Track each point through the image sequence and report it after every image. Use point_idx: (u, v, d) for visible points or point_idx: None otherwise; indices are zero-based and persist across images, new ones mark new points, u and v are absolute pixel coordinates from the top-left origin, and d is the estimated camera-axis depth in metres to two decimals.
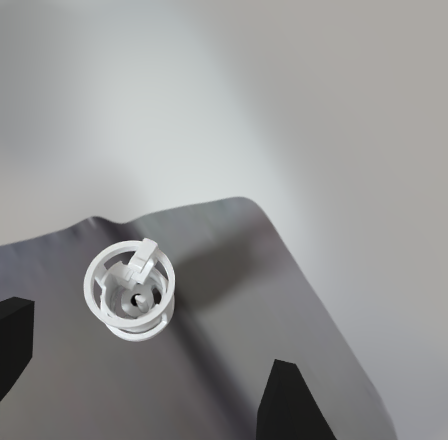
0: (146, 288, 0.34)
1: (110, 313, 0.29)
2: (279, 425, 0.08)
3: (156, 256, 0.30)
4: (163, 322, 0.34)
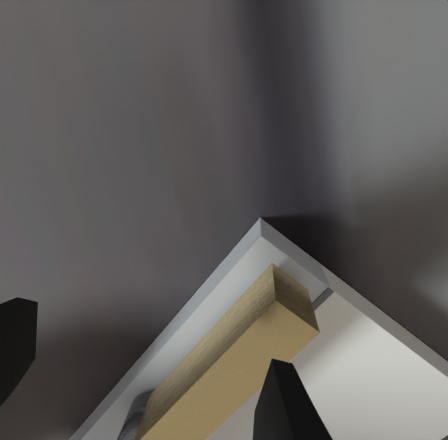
0: None
1: None
2: (275, 424, 0.08)
3: None
4: None
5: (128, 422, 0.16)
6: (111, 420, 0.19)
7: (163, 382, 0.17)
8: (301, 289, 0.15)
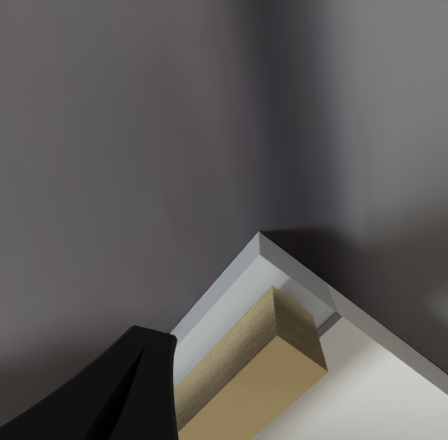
0: None
1: None
2: None
3: None
4: None
5: None
6: None
7: None
8: (305, 315, 0.13)
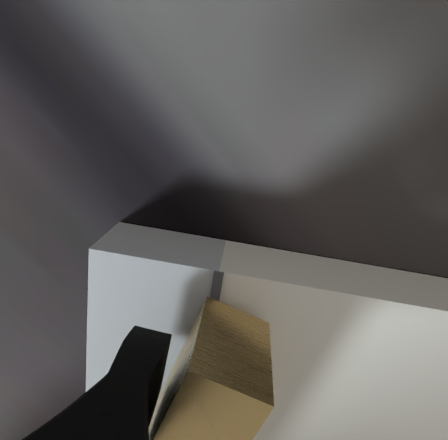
0: None
1: None
2: None
3: None
4: None
5: None
6: None
7: None
8: (255, 326, 0.10)
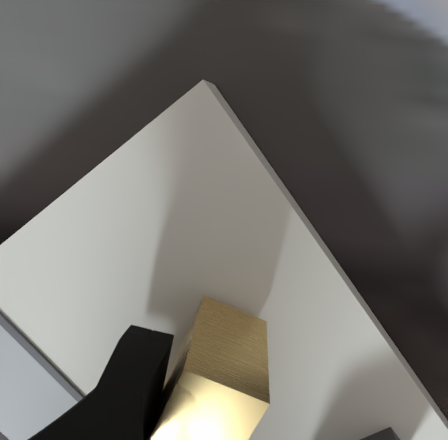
0: None
1: None
2: None
3: None
4: None
5: None
6: None
7: None
8: (252, 325, 0.10)
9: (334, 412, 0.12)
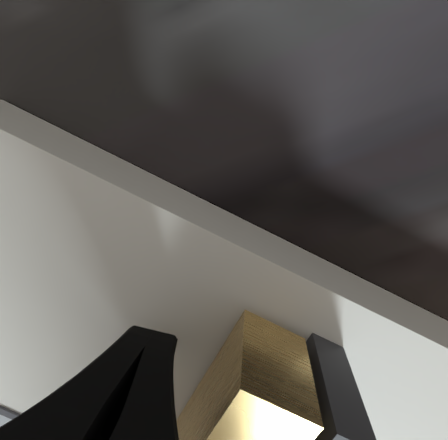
0: None
1: None
2: None
3: None
4: None
5: None
6: None
7: None
8: (293, 342, 0.10)
9: None
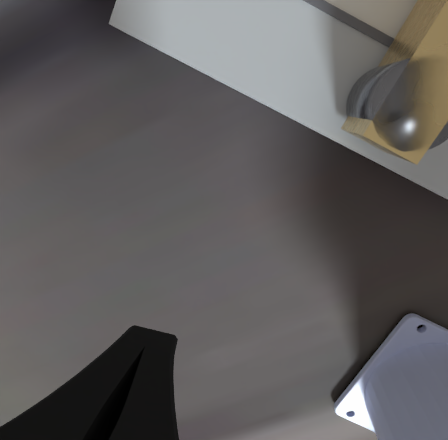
0: None
1: None
2: None
3: None
4: None
5: (372, 75, 0.12)
6: (414, 166, 0.15)
7: (401, 30, 0.12)
8: None
9: None
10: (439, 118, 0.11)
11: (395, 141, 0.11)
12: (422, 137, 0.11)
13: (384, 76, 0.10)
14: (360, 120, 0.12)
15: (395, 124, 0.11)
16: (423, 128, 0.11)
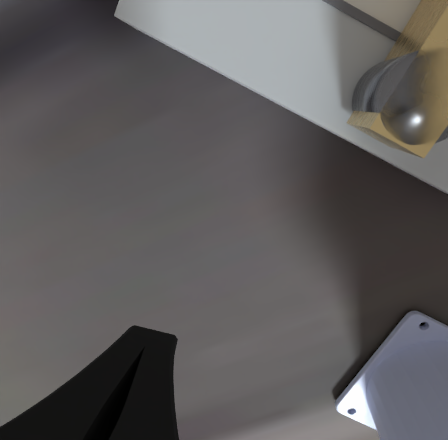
0: None
1: None
2: None
3: None
4: None
5: (379, 69, 0.12)
6: (419, 161, 0.14)
7: (408, 23, 0.12)
8: None
9: None
10: (447, 111, 0.11)
11: (401, 135, 0.11)
12: (429, 130, 0.11)
13: (392, 68, 0.10)
14: (366, 113, 0.12)
15: (403, 117, 0.11)
16: (430, 121, 0.11)
